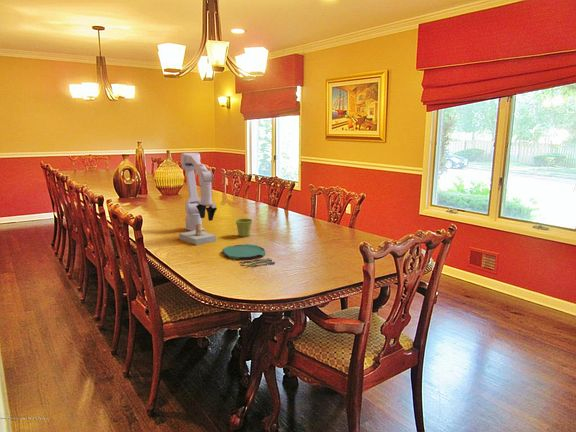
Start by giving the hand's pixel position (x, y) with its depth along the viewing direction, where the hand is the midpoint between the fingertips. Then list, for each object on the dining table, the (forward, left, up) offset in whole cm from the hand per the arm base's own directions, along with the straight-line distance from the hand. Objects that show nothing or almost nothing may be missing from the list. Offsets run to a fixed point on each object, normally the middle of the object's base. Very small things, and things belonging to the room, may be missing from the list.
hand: (206, 219), depth 228 cm
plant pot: (+11, +17, -10) cm, 22 cm away
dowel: (+3, -7, -9) cm, 12 cm away
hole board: (+2, -7, -10) cm, 12 cm away
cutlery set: (+42, -7, -11) cm, 43 cm away
